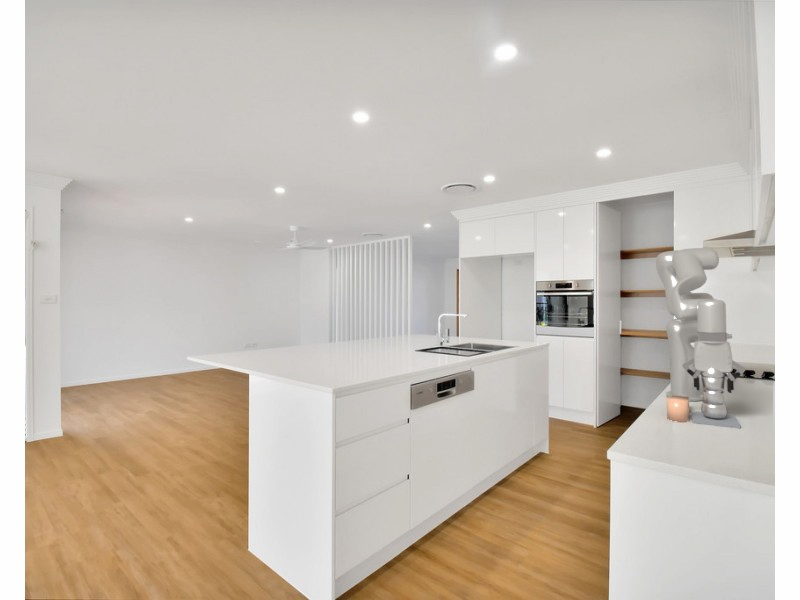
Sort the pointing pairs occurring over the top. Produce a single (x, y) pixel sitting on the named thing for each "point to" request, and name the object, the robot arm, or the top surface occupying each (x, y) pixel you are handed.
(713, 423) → the slate mat
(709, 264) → the robot arm
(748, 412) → the top surface
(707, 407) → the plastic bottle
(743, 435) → the top surface
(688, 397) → the copper block
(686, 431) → the top surface
